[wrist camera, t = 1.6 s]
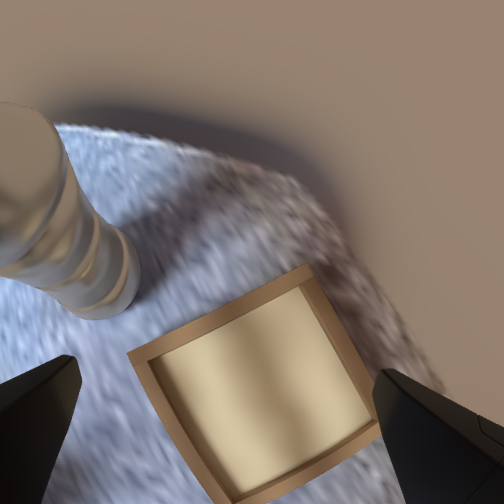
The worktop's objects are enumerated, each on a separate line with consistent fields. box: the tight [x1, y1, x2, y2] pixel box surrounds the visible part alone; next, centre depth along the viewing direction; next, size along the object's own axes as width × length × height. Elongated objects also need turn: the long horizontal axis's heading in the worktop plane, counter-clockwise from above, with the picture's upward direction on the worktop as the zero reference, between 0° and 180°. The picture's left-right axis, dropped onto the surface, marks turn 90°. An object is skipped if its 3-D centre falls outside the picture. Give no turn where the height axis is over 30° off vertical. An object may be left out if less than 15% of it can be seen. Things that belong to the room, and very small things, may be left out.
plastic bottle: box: [0, 102, 141, 320], centre depth 13 cm, size 6×7×20 cm
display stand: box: [127, 263, 382, 504], centre depth 20 cm, size 13×13×3 cm
